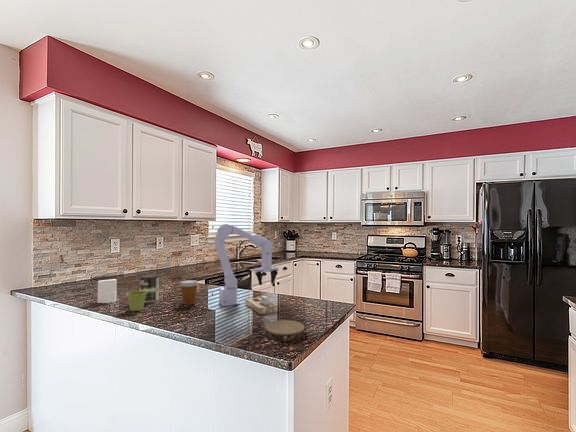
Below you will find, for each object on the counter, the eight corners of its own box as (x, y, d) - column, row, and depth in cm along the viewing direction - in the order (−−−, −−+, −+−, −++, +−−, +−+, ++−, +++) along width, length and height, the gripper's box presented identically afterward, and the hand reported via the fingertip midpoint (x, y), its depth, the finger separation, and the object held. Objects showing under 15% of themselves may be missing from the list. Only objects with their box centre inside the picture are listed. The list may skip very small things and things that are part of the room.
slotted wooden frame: (260, 314, 145) (260, 308, 145) (245, 304, 162) (245, 299, 163) (276, 311, 149) (276, 305, 149) (260, 302, 167) (260, 297, 167)
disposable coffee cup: (187, 306, 159) (187, 283, 159) (176, 303, 164) (176, 281, 164) (201, 302, 167) (201, 280, 167) (190, 300, 172) (190, 279, 172)
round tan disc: (310, 330, 124) (310, 323, 124) (295, 344, 109) (295, 336, 109) (275, 325, 130) (275, 318, 130) (257, 337, 116) (257, 329, 116)
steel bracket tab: (264, 312, 149) (264, 297, 149) (260, 309, 153) (260, 295, 154) (268, 311, 150) (268, 297, 150) (264, 309, 154) (264, 295, 155)
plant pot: (121, 311, 149) (122, 293, 149) (137, 306, 158) (137, 290, 158) (135, 313, 146) (136, 295, 146) (150, 308, 155) (151, 291, 155)
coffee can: (148, 303, 164) (148, 277, 165) (134, 301, 168) (135, 276, 169) (162, 299, 174) (163, 274, 174) (149, 297, 178) (149, 273, 178)
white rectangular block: (99, 304, 162) (99, 282, 162) (96, 301, 168) (96, 280, 169) (117, 301, 167) (118, 280, 168) (114, 298, 174) (114, 278, 175)
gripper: (257, 262, 164) (257, 286, 164) (281, 260, 171) (280, 284, 171) (252, 260, 171) (252, 284, 170) (275, 259, 178) (275, 282, 177)
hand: (266, 284), depth 171 cm, fingers open, 7 cm apart
